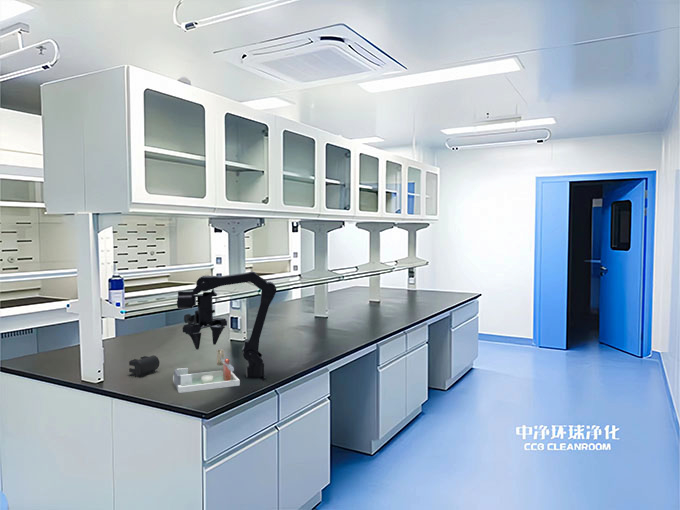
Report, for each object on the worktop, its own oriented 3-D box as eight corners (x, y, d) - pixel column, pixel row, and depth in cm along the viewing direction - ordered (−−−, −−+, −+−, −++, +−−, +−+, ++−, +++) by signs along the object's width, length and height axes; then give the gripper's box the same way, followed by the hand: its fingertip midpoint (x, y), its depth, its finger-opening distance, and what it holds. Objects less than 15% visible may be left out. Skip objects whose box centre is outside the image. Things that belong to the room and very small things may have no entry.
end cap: (141, 378, 195) (141, 361, 194) (128, 376, 197) (128, 359, 197) (159, 371, 204) (159, 355, 204) (146, 370, 207) (146, 354, 206)
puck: (211, 380, 189) (211, 374, 189) (214, 383, 185) (214, 377, 185) (200, 382, 187) (200, 375, 187) (202, 385, 183) (202, 378, 183)
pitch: (229, 376, 198) (229, 361, 198) (239, 388, 184) (239, 371, 183) (173, 383, 188) (172, 367, 188) (178, 395, 174) (178, 378, 174)
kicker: (223, 370, 202) (223, 348, 201) (236, 385, 182) (236, 361, 182) (215, 371, 200) (216, 349, 200) (228, 386, 181) (228, 362, 181)
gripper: (207, 303, 204) (208, 340, 205) (172, 309, 188) (173, 349, 189) (227, 305, 199) (228, 343, 199) (192, 311, 182) (193, 353, 183)
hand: (206, 346), depth 193 cm, fingers open, 9 cm apart
